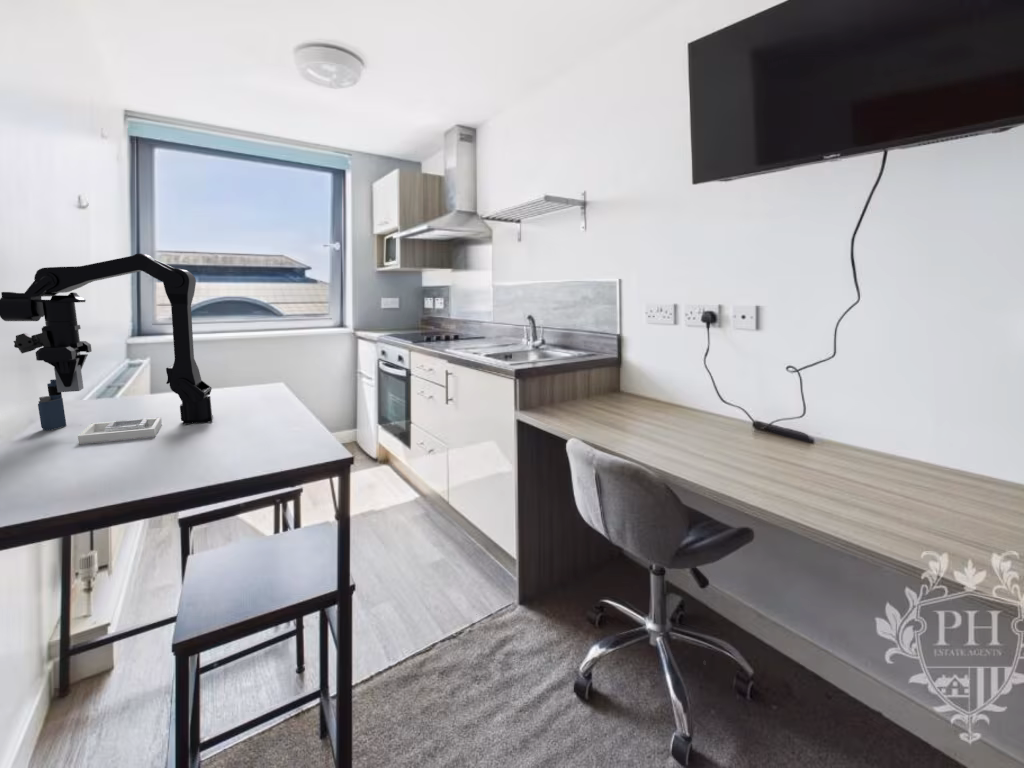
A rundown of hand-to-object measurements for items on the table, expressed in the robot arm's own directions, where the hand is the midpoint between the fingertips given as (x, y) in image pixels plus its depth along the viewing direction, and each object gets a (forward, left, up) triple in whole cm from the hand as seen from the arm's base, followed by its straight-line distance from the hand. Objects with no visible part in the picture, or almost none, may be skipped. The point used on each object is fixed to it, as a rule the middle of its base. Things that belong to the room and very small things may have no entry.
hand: (70, 385), depth 121 cm
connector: (0, 0, -1) cm, 1 cm away
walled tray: (-11, +11, -11) cm, 19 cm away
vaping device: (+5, -3, -11) cm, 13 cm away
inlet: (-12, +11, -11) cm, 20 cm away
